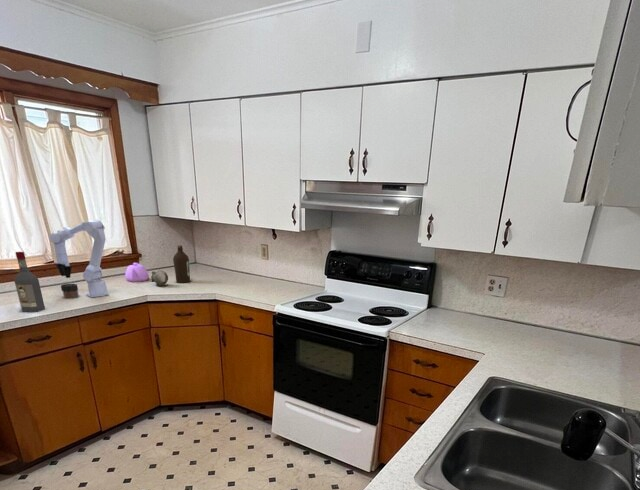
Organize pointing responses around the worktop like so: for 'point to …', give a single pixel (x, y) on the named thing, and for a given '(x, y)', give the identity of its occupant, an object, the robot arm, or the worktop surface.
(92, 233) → the robot arm
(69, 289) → the rubber collar
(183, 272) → the olive oil
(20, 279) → the liquor
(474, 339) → the worktop surface
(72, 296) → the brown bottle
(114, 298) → the worktop surface
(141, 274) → the teapot
